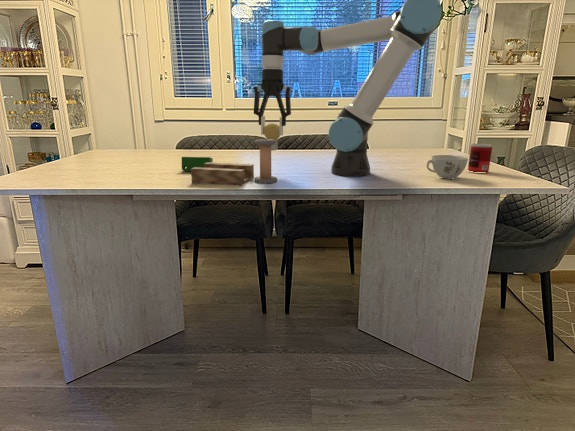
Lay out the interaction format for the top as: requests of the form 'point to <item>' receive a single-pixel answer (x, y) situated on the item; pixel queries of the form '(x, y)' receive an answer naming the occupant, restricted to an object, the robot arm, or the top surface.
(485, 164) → the canned food
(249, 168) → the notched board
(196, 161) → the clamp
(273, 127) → the light bulb
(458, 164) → the teacup
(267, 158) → the bobbin
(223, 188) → the top surface
